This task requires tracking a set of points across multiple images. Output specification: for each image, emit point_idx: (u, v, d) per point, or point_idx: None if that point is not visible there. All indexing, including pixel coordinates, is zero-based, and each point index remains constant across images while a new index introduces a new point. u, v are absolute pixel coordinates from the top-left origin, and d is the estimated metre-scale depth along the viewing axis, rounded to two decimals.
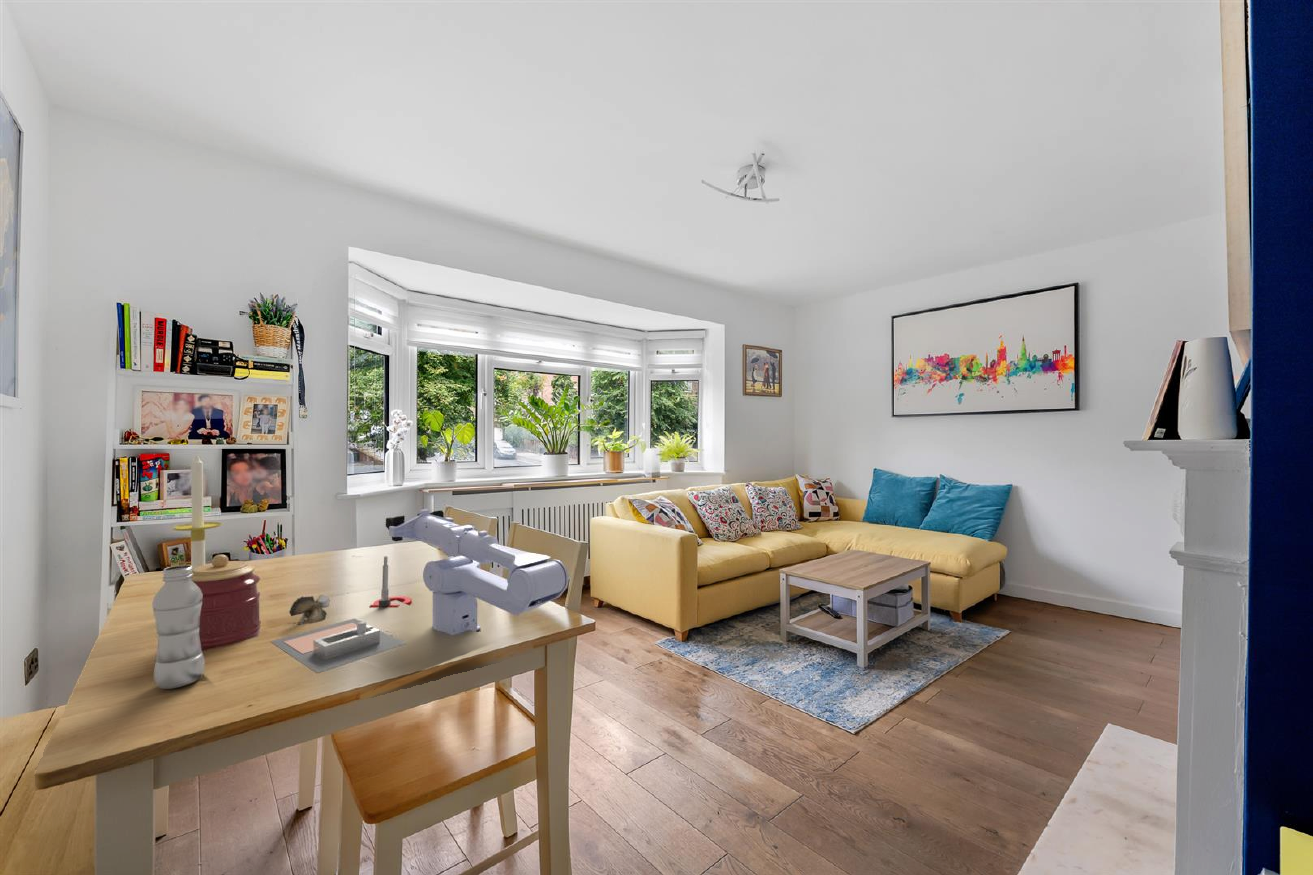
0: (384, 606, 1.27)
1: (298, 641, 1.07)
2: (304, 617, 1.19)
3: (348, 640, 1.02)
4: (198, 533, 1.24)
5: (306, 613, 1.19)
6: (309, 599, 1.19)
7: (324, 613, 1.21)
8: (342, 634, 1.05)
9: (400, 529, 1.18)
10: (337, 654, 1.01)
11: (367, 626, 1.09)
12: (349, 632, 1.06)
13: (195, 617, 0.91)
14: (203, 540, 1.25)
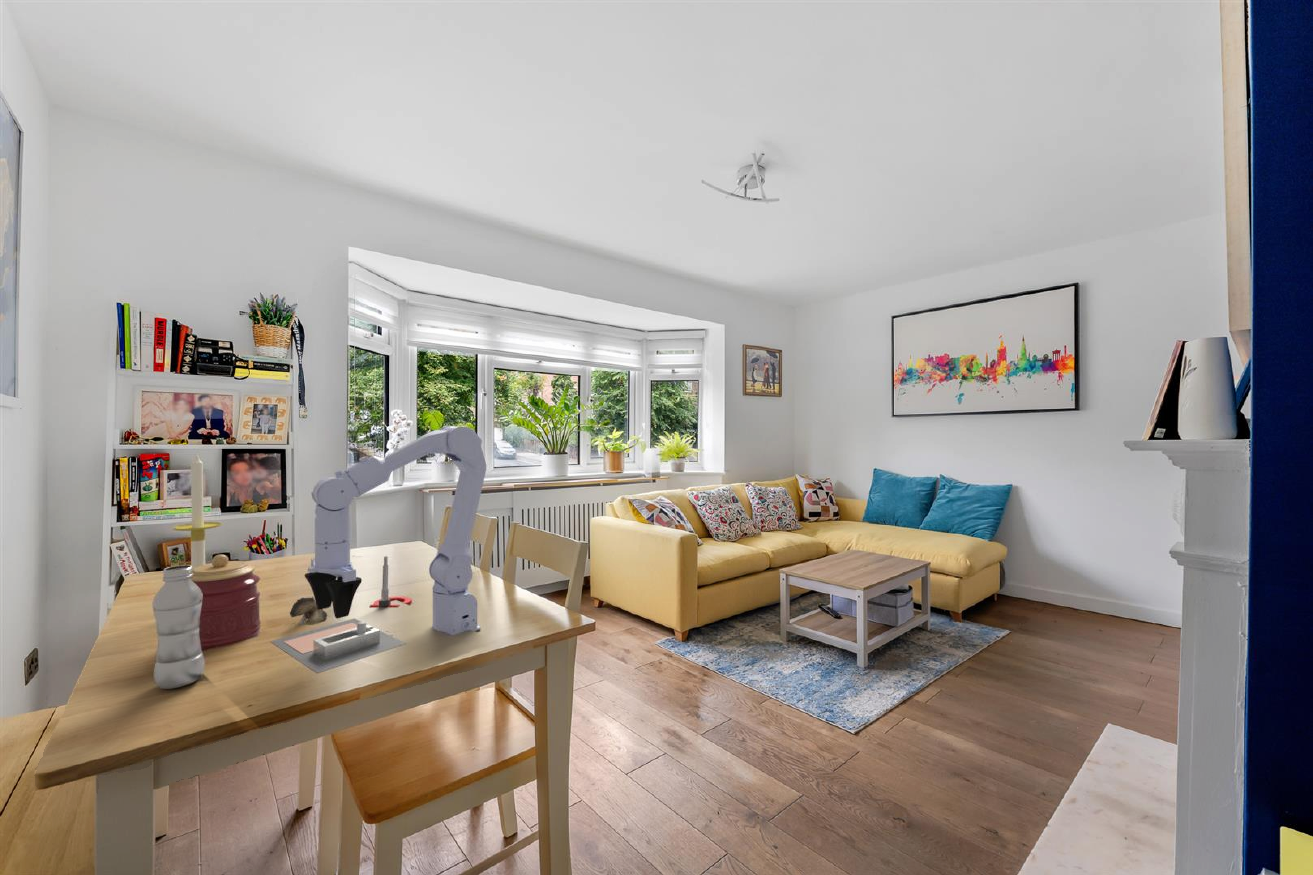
0: (384, 606, 1.27)
1: (298, 641, 1.07)
2: (304, 618, 1.19)
3: (348, 640, 1.02)
4: (198, 533, 1.24)
5: (306, 614, 1.19)
6: (310, 600, 1.18)
7: (325, 614, 1.20)
8: (342, 634, 1.05)
9: None
10: (337, 654, 1.01)
11: (367, 626, 1.09)
12: (349, 632, 1.06)
13: (195, 617, 0.91)
14: (203, 540, 1.25)
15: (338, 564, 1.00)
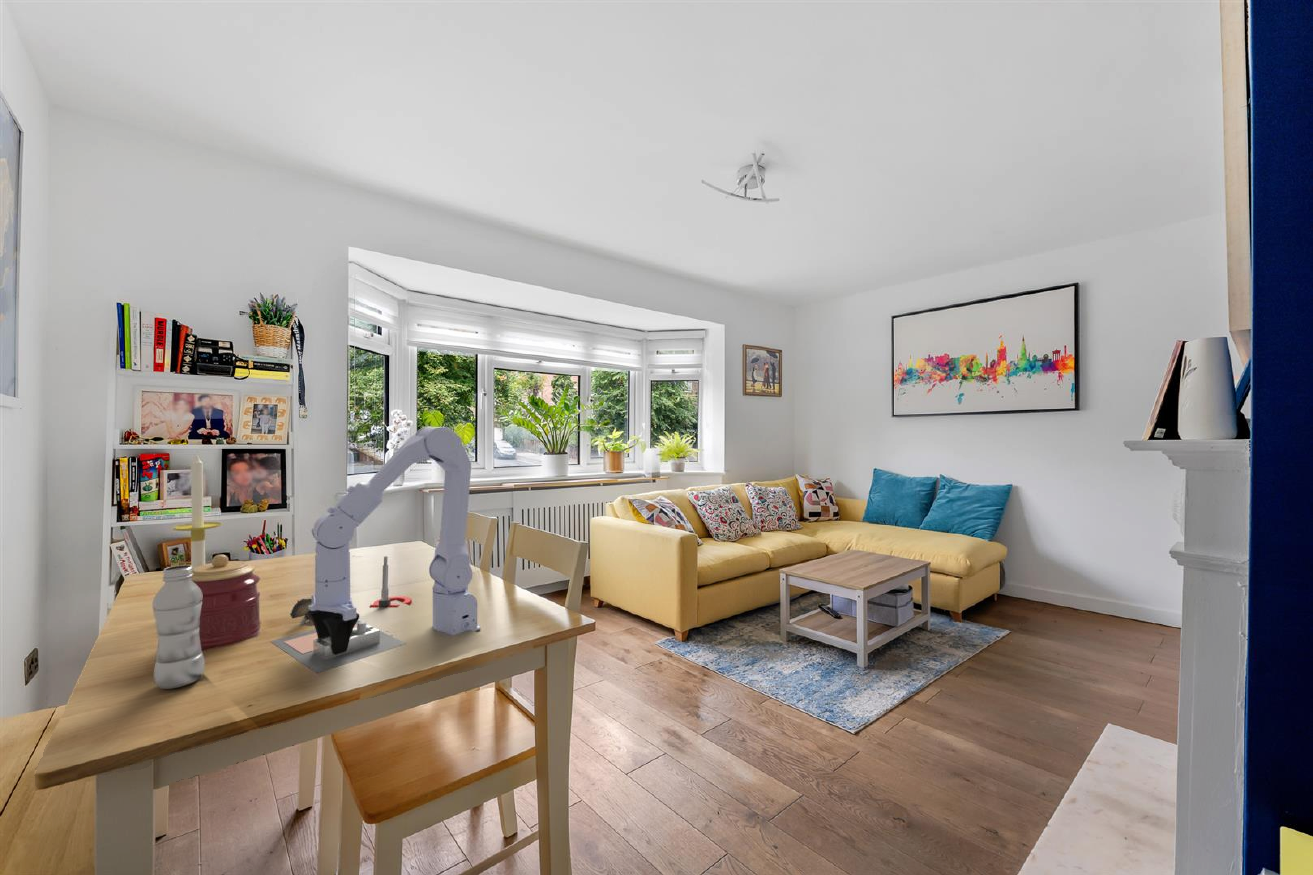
0: (384, 606, 1.27)
1: (298, 641, 1.07)
2: (305, 619, 1.18)
3: None
4: (198, 533, 1.24)
5: (307, 615, 1.18)
6: (310, 601, 1.18)
7: None
8: None
9: (344, 609, 0.99)
10: (337, 654, 1.01)
11: (367, 626, 1.09)
12: None
13: (195, 617, 0.91)
14: (203, 540, 1.25)
15: (338, 601, 1.00)
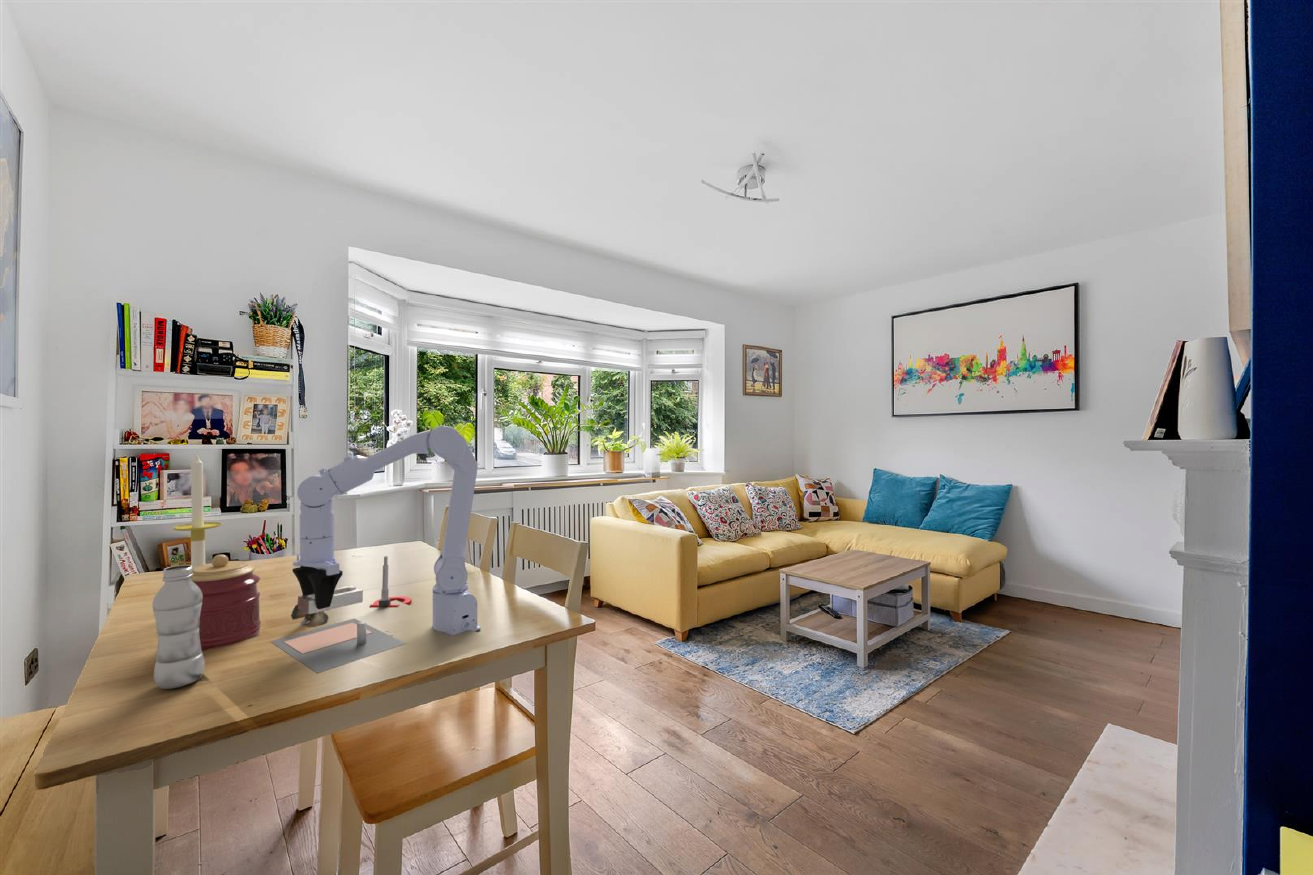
0: (384, 606, 1.27)
1: (298, 641, 1.07)
2: (305, 620, 1.17)
3: None
4: (198, 533, 1.24)
5: (307, 616, 1.17)
6: None
7: (326, 616, 1.19)
8: None
9: (327, 565, 1.03)
10: (321, 609, 1.04)
11: (351, 587, 1.13)
12: None
13: (195, 617, 0.91)
14: (203, 540, 1.25)
15: (322, 558, 1.04)
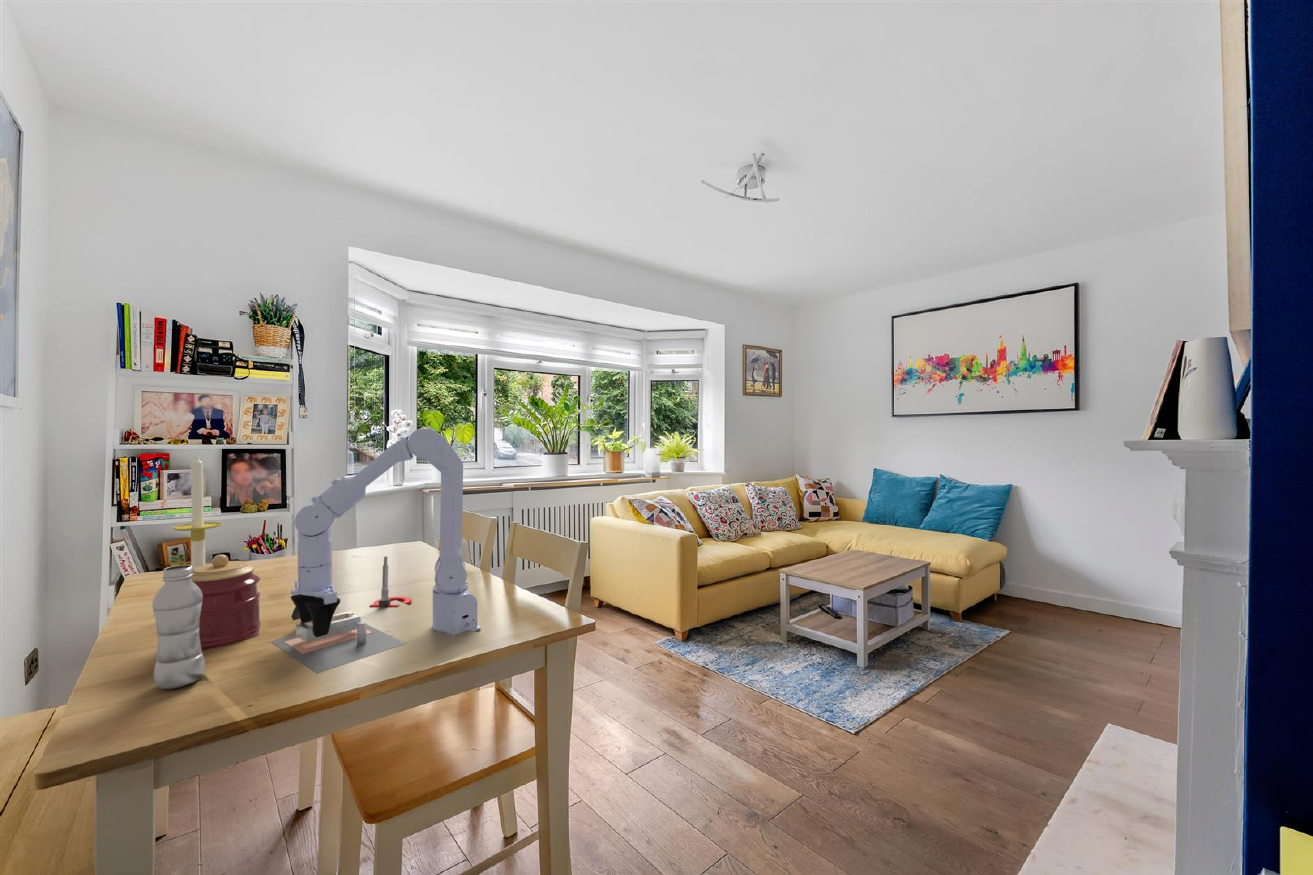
0: (384, 606, 1.27)
1: (298, 641, 1.07)
2: None
3: None
4: (198, 533, 1.24)
5: None
6: None
7: None
8: None
9: (325, 593, 1.03)
10: (318, 637, 1.05)
11: (349, 612, 1.13)
12: None
13: (195, 617, 0.91)
14: (203, 540, 1.25)
15: (320, 586, 1.05)
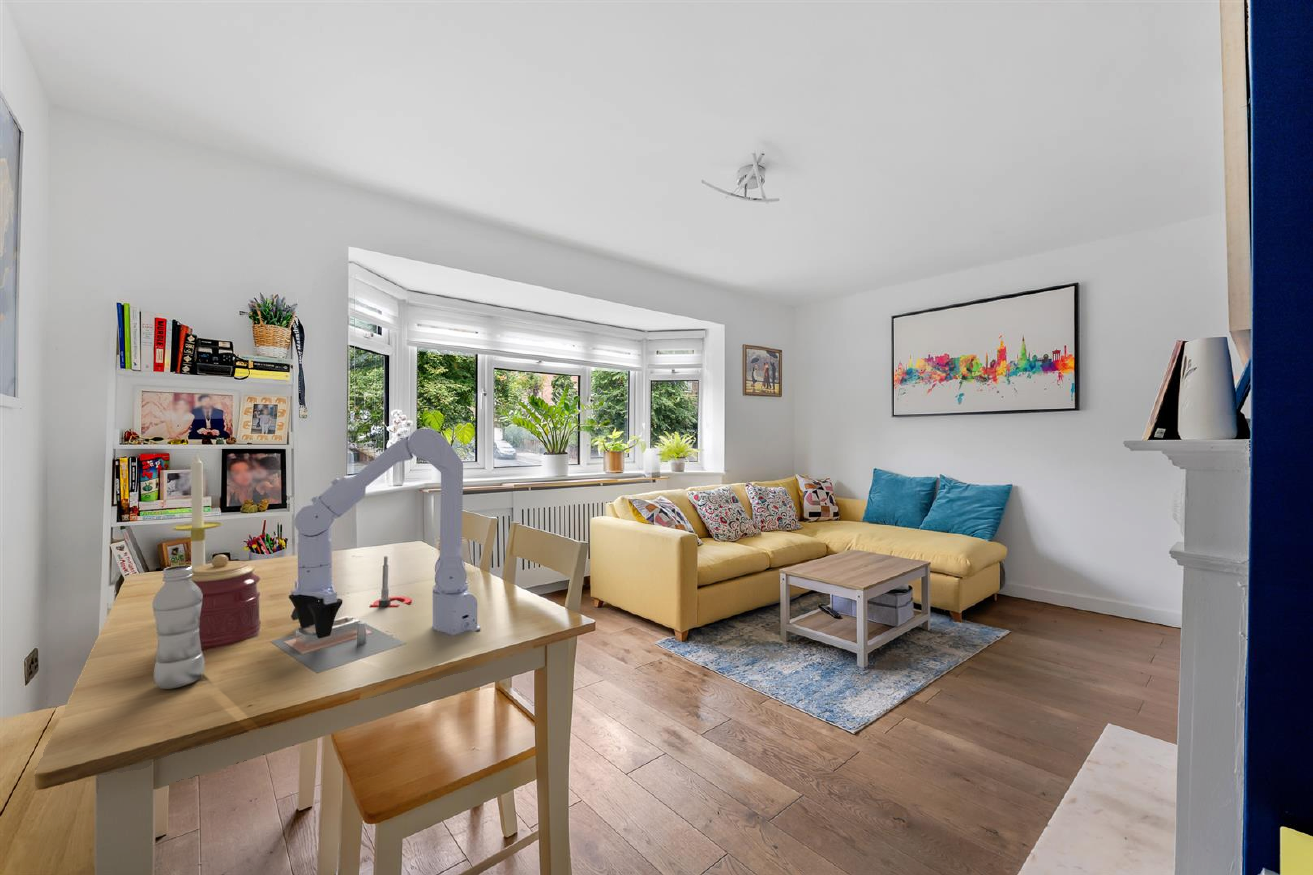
0: (384, 606, 1.27)
1: None
2: None
3: None
4: (198, 533, 1.24)
5: None
6: None
7: None
8: None
9: (325, 593, 1.03)
10: (318, 643, 1.05)
11: (348, 617, 1.13)
12: None
13: (195, 617, 0.91)
14: (203, 540, 1.25)
15: (320, 586, 1.05)
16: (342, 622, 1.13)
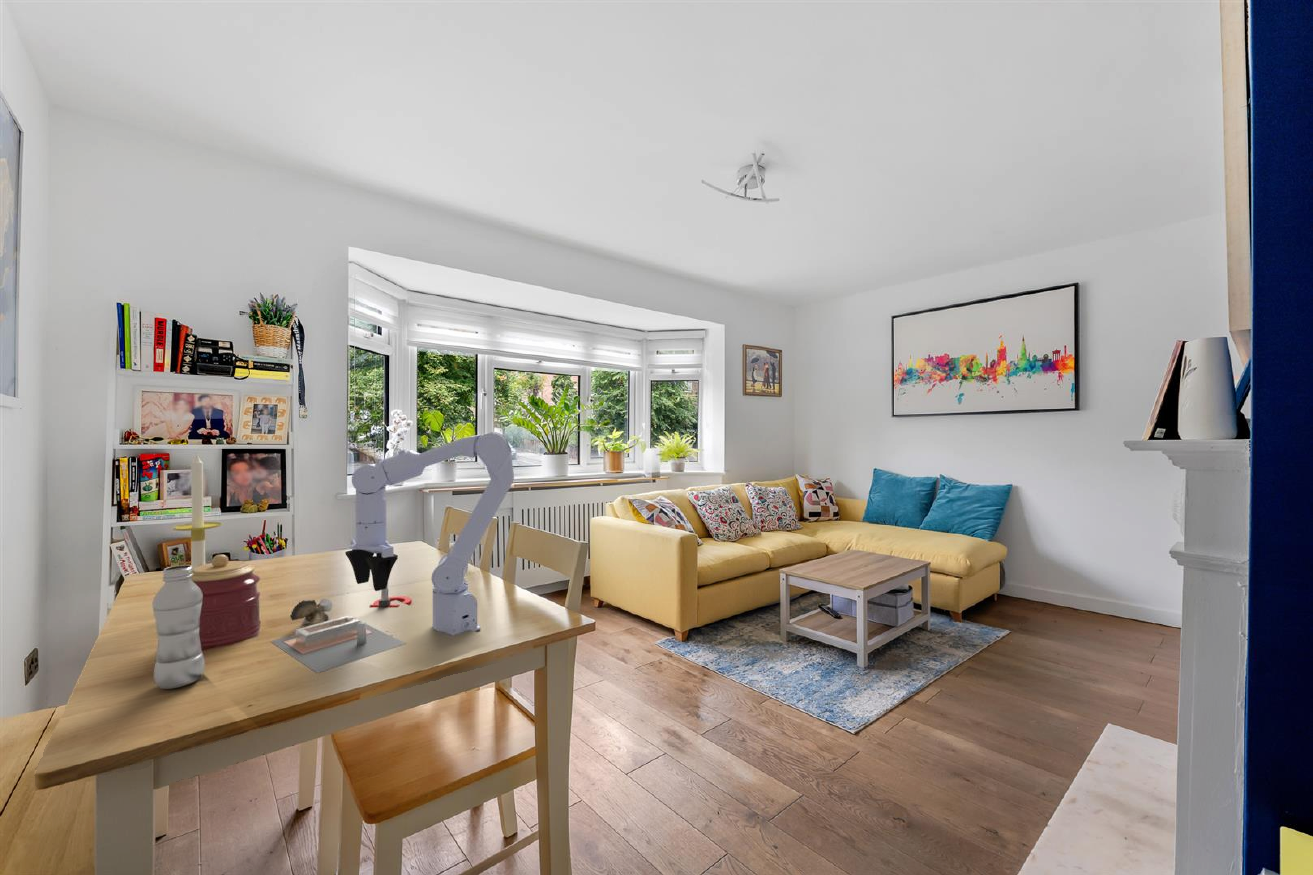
0: (384, 606, 1.27)
1: None
2: (305, 621, 1.17)
3: (329, 630, 1.07)
4: (198, 533, 1.24)
5: (308, 617, 1.17)
6: (311, 603, 1.17)
7: (326, 617, 1.18)
8: (324, 624, 1.10)
9: None
10: (318, 643, 1.05)
11: (348, 617, 1.13)
12: (330, 622, 1.11)
13: (195, 617, 0.91)
14: (203, 540, 1.25)
15: (377, 542, 1.11)
16: (342, 622, 1.13)
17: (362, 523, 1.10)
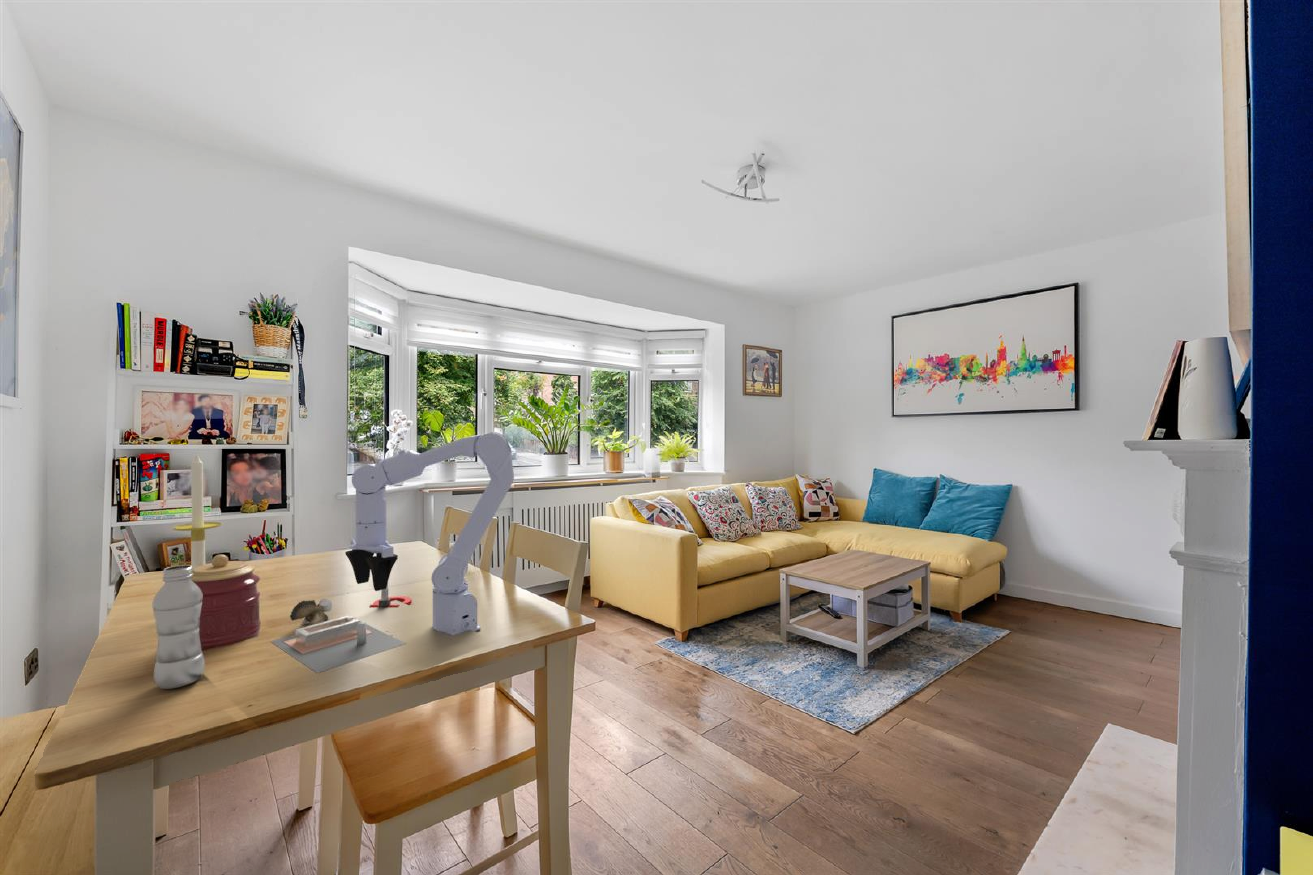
0: (384, 606, 1.27)
1: None
2: (305, 621, 1.17)
3: (329, 630, 1.07)
4: (198, 533, 1.24)
5: (307, 617, 1.17)
6: (311, 603, 1.17)
7: (326, 617, 1.18)
8: (324, 624, 1.10)
9: None
10: (318, 643, 1.05)
11: (348, 617, 1.13)
12: (330, 622, 1.11)
13: (195, 617, 0.91)
14: (203, 540, 1.25)
15: (377, 542, 1.11)
16: (342, 622, 1.13)
17: (362, 523, 1.10)
